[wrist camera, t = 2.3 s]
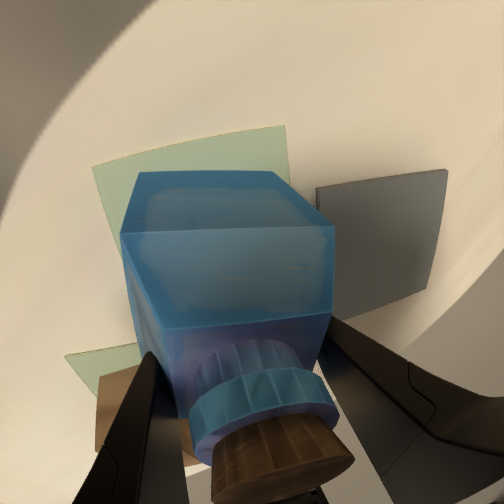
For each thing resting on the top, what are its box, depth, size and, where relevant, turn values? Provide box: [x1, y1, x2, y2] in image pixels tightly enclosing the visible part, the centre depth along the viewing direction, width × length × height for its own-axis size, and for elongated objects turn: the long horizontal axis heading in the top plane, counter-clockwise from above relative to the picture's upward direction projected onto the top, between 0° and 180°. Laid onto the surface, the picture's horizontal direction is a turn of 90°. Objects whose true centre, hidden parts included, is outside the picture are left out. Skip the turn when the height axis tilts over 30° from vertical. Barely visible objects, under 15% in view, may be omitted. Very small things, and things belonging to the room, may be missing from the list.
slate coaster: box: [316, 169, 448, 321], centre depth 19 cm, size 10×10×1 cm
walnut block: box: [95, 364, 202, 467], centre depth 17 cm, size 5×5×6 cm
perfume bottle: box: [119, 170, 355, 504], centre depth 10 cm, size 6×6×12 cm
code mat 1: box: [64, 343, 142, 397], centre depth 20 cm, size 9×9×1 cm
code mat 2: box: [92, 125, 290, 261], centre depth 15 cm, size 9×9×1 cm
